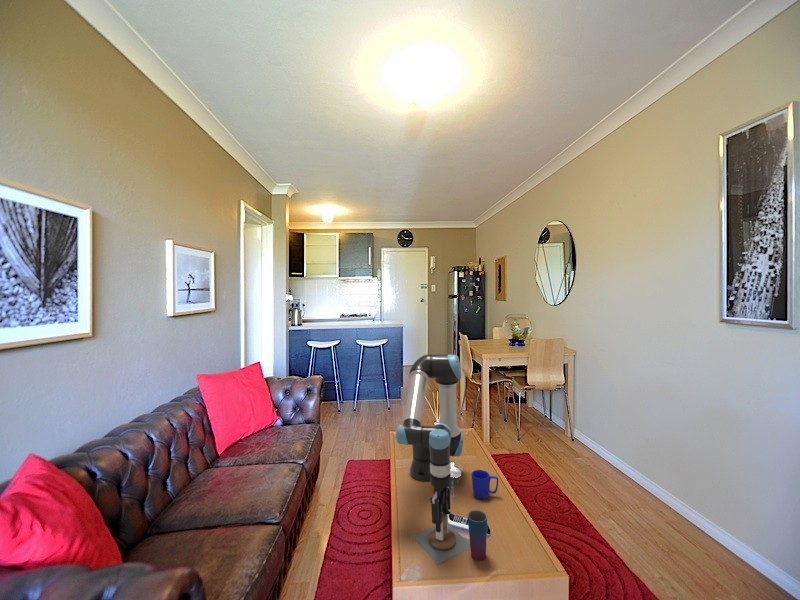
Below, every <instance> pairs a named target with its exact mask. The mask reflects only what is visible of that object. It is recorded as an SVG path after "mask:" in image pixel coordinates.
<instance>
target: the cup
mask: <svg viewBox="0 0 800 600" xmlns="http://www.w3.org/2000/svg"><path fill="white" fill-rule="evenodd" d="M467 525H468V534H469V543H470V555H471V557H472V559H474V560H475V561H477V562H482V561H484V560H485V559H486V558H487V532H488V531H487V530H488V515H487V513H486V512H484V511H483V510H480V509H471V510H469V511H468V513H467Z"/></svg>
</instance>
